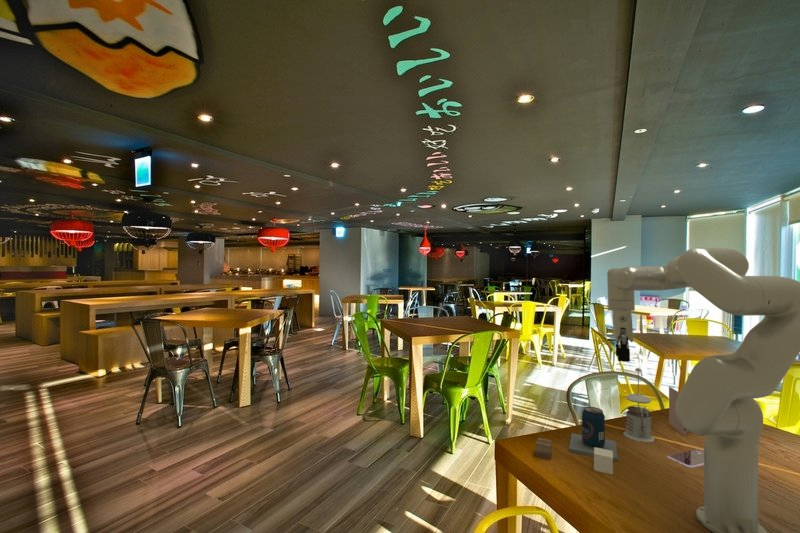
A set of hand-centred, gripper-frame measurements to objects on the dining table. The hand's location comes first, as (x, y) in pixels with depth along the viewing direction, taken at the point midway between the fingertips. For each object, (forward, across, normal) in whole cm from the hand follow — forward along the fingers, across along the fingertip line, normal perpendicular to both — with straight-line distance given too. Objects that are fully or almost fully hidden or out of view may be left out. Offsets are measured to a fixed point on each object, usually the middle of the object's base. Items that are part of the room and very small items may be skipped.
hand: (622, 358), depth 121 cm
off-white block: (+32, -10, +6) cm, 34 cm away
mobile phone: (+33, +12, -20) cm, 40 cm away
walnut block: (+32, -9, +24) cm, 41 cm away
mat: (+32, +4, +9) cm, 33 cm away
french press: (+32, +22, -6) cm, 39 cm away
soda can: (+31, +4, +9) cm, 32 cm away
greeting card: (+32, +38, -20) cm, 53 cm away
